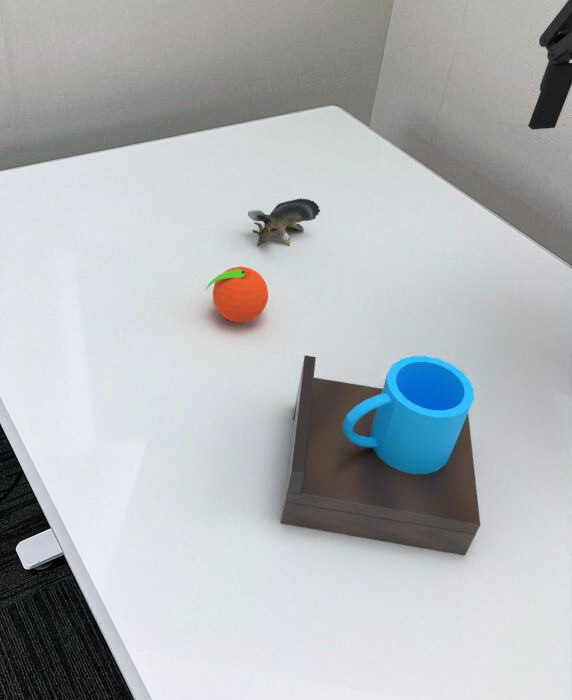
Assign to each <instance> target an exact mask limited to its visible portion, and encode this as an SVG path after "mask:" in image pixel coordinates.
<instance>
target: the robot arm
mask: <svg viewBox="0 0 572 700" xmlns="http://www.w3.org/2000/svg"><path fill="white" fill-rule="evenodd" d="M538 44H539V46H540V47H541V48H545V49H546V51H547V55H546V58H547V60H548V62H547V65H546V67H545V70H544V73H543V76H542V79H541V81H540V85H539V91H540V93H539V95H538V98H537V101H536V104H535V106H534V109H533V112H532V114H531V117H530V120H529V123H528V125H527V126H528V128H529V129H531V130H545V129H555V128H556V126H557V124H558V121H559V119H560V115H561V113H562V110H563V108H564V106H565V103H566V100H567V98H568V95H569V93H570V90H571V87H572V62H571V61H572V0H567V2H565V4H563V6H562V8H561V9H560V11H559V12H558V13H556V15H555V17H554V18H553V19H552V21H551V22H550V23H549V24H548V26H547V27H546V29H545V30H544V31H543V32H542V33H541V35H540V37H539V40H538Z"/></svg>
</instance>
